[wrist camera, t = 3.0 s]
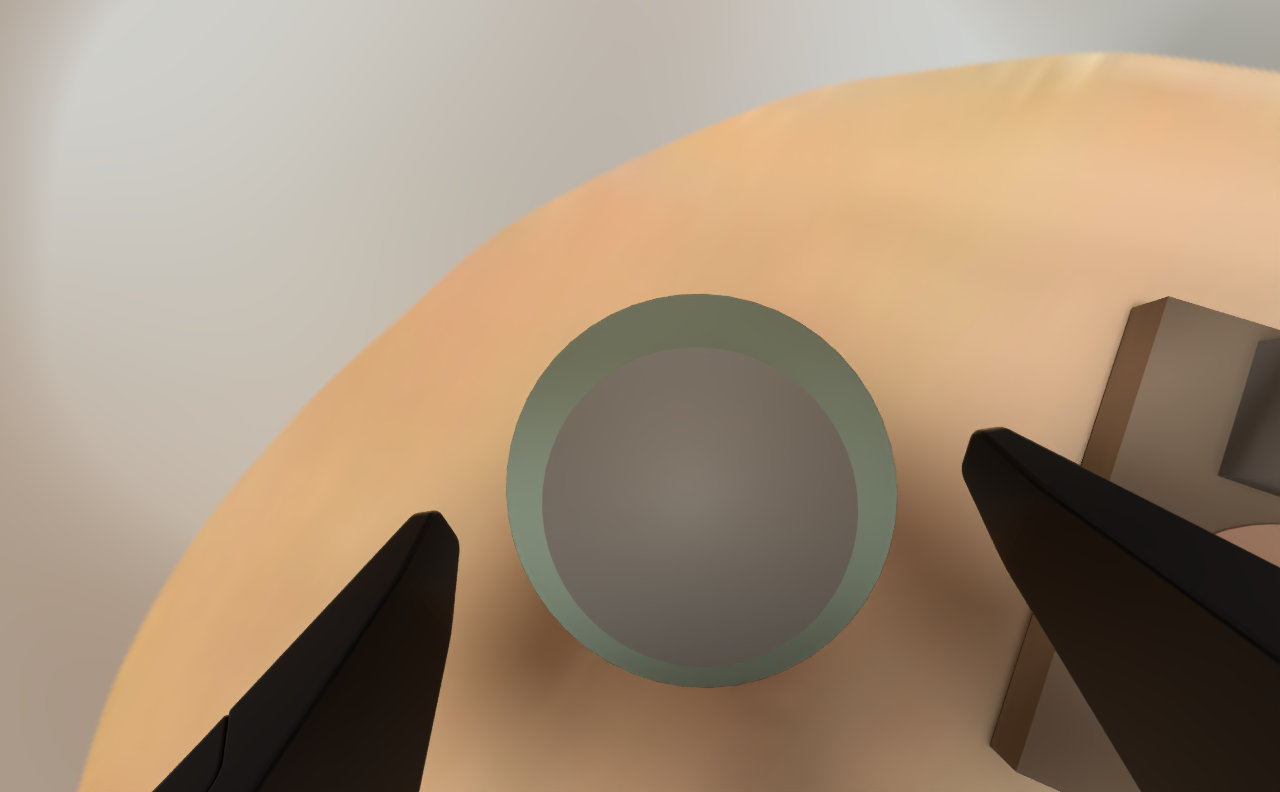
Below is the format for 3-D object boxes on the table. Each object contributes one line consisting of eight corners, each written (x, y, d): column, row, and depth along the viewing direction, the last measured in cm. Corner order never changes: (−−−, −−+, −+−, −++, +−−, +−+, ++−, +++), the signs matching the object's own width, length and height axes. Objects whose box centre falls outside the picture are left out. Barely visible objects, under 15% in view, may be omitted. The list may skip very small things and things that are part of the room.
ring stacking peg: (794, 550, 16) (1326, 1063, 3) (608, 558, 16) (249, 1014, 3) (776, 364, 17) (1123, 8, 3) (598, 378, 17) (270, 123, 4)
